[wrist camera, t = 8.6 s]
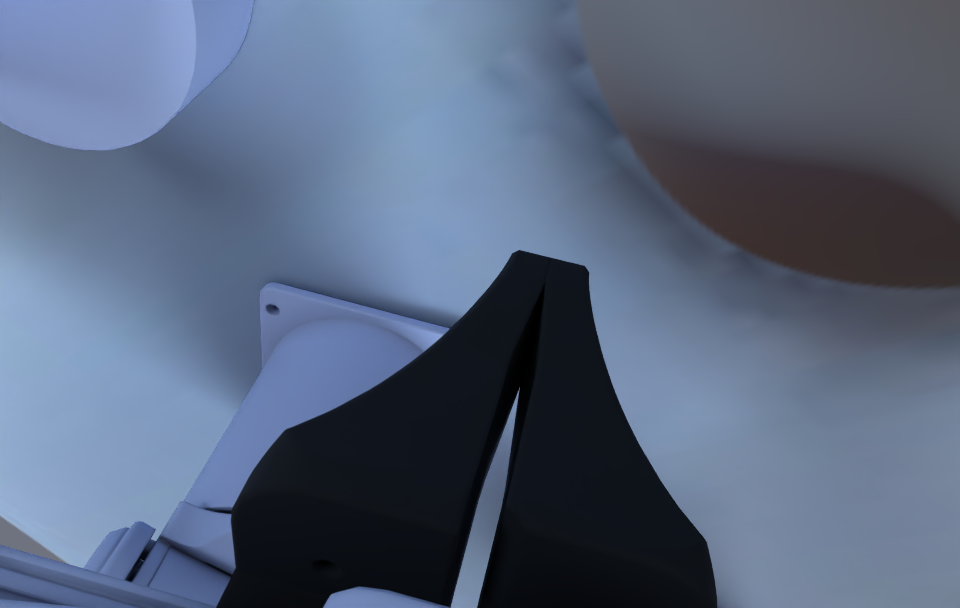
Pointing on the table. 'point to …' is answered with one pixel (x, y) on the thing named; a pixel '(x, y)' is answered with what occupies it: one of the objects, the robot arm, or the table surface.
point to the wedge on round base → (110, 65)
